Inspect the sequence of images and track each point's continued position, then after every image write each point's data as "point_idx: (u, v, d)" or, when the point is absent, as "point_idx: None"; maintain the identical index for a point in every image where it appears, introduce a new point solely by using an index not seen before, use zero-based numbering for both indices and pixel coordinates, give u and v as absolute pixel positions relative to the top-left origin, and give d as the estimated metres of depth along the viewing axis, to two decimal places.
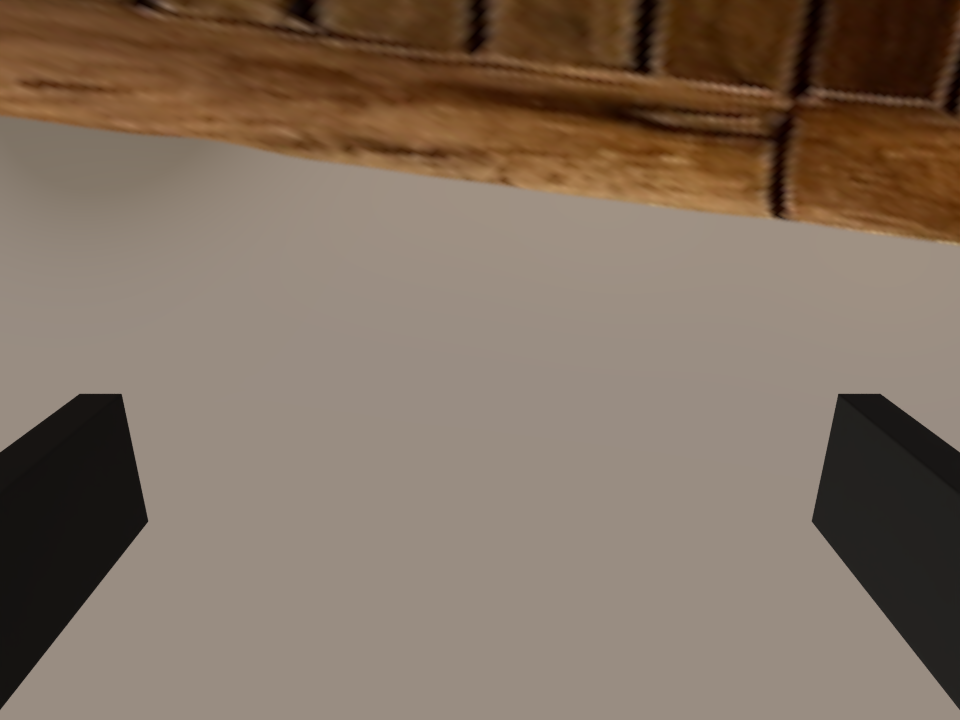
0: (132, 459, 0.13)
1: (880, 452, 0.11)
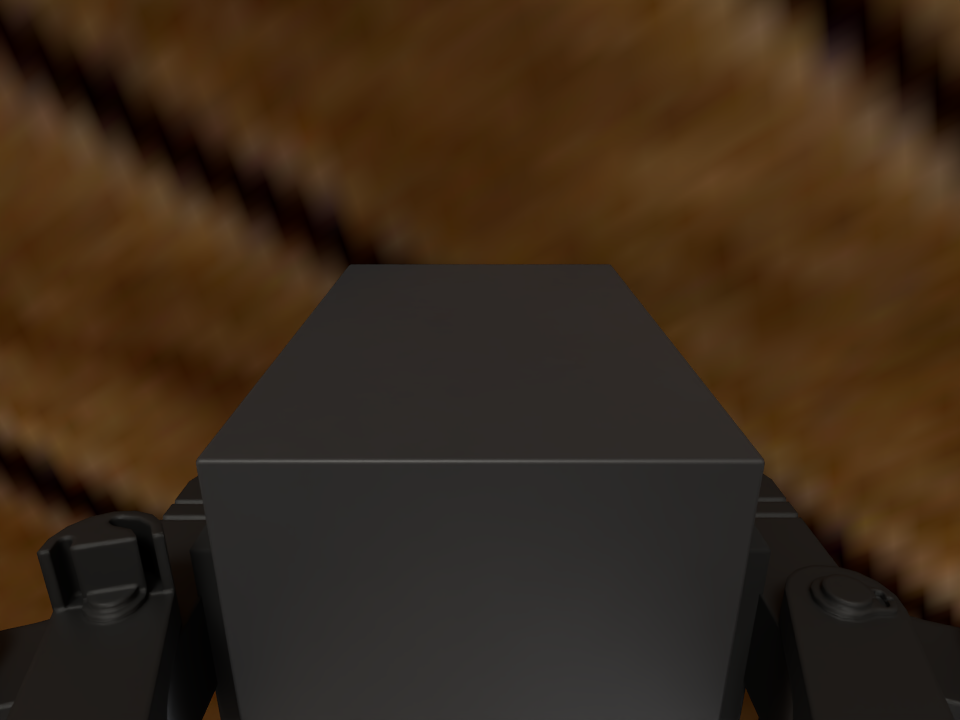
0: None
1: None
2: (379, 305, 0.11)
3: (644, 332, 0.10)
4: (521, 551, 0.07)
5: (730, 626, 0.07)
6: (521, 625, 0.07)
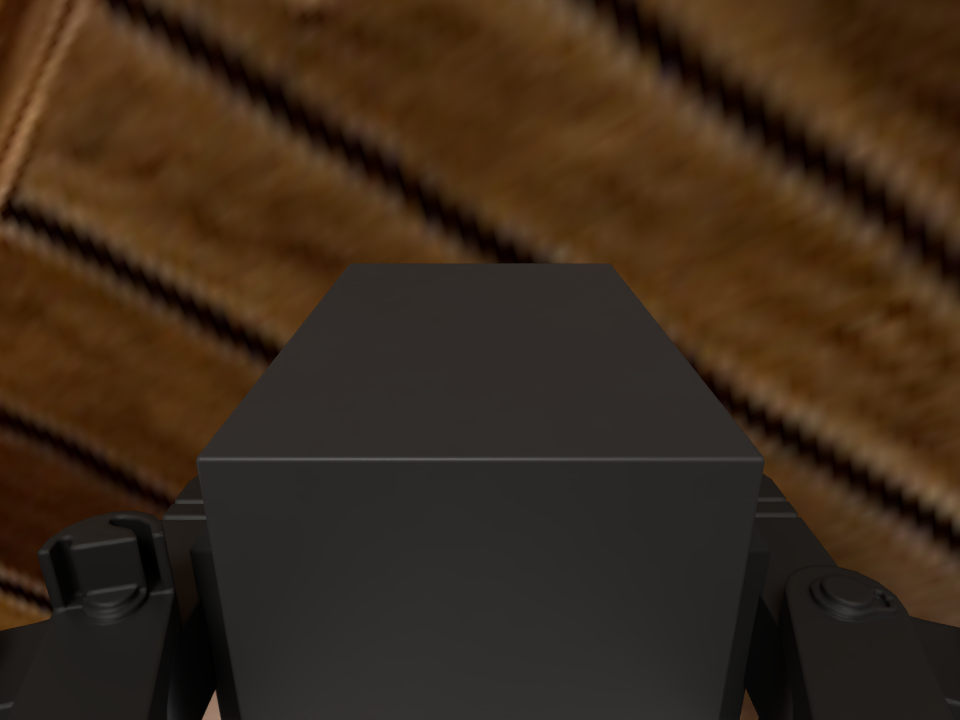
0: None
1: None
2: (379, 304, 0.11)
3: (644, 331, 0.10)
4: (521, 550, 0.07)
5: (730, 624, 0.07)
6: (522, 623, 0.07)
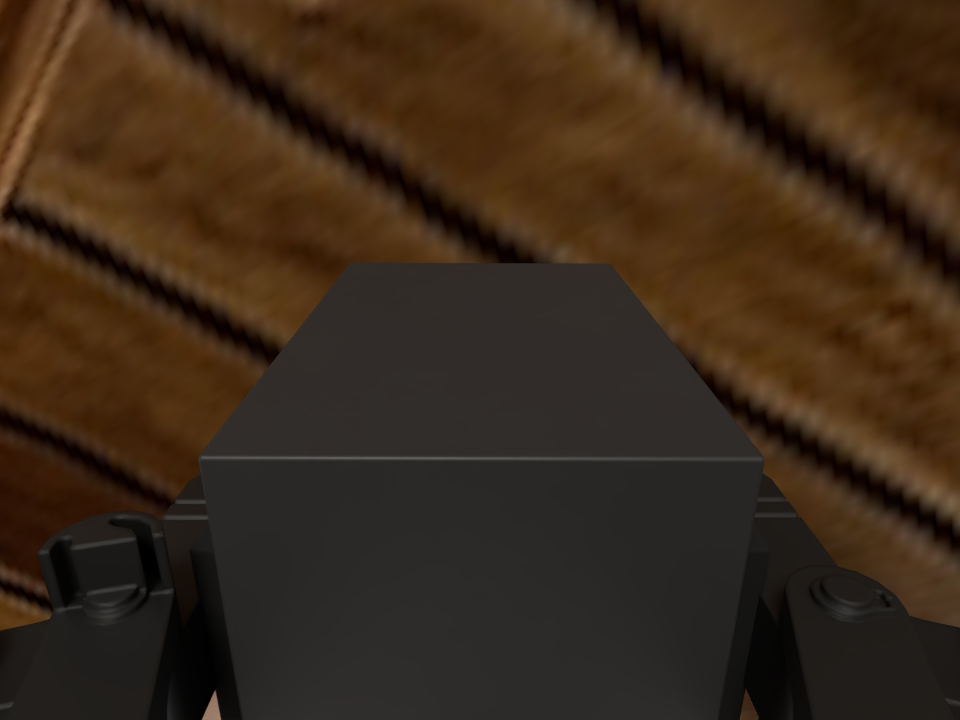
0: None
1: None
2: (380, 303, 0.11)
3: (644, 331, 0.10)
4: (522, 549, 0.07)
5: (729, 623, 0.07)
6: (522, 622, 0.07)
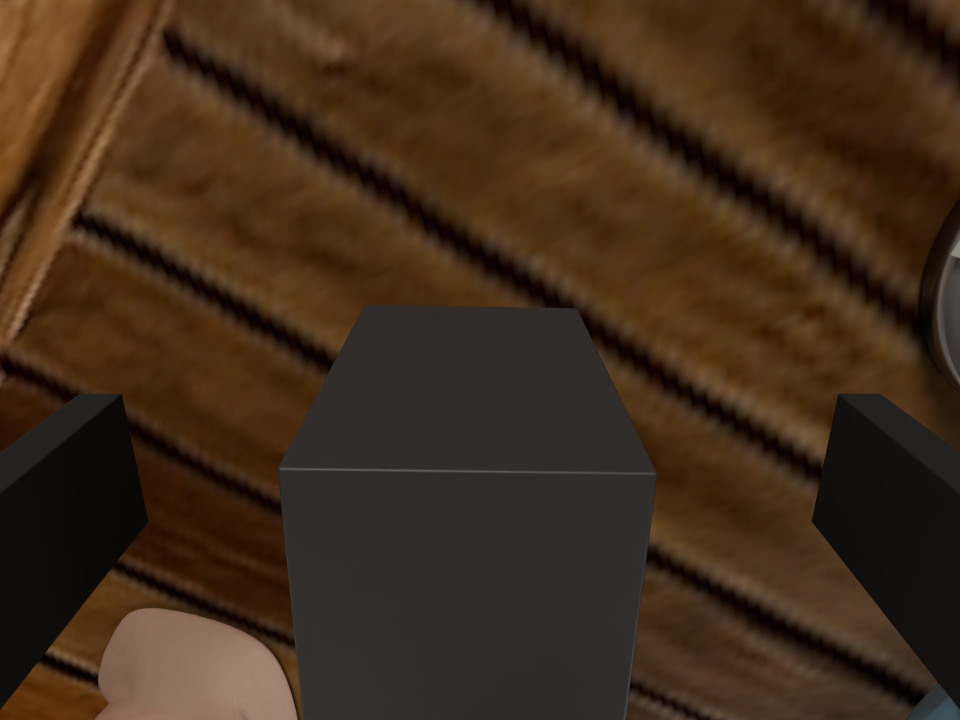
0: (132, 458, 0.13)
1: (879, 452, 0.11)
2: (392, 345, 0.14)
3: (593, 373, 0.13)
4: (495, 532, 0.10)
5: (638, 586, 0.10)
6: (495, 584, 0.10)
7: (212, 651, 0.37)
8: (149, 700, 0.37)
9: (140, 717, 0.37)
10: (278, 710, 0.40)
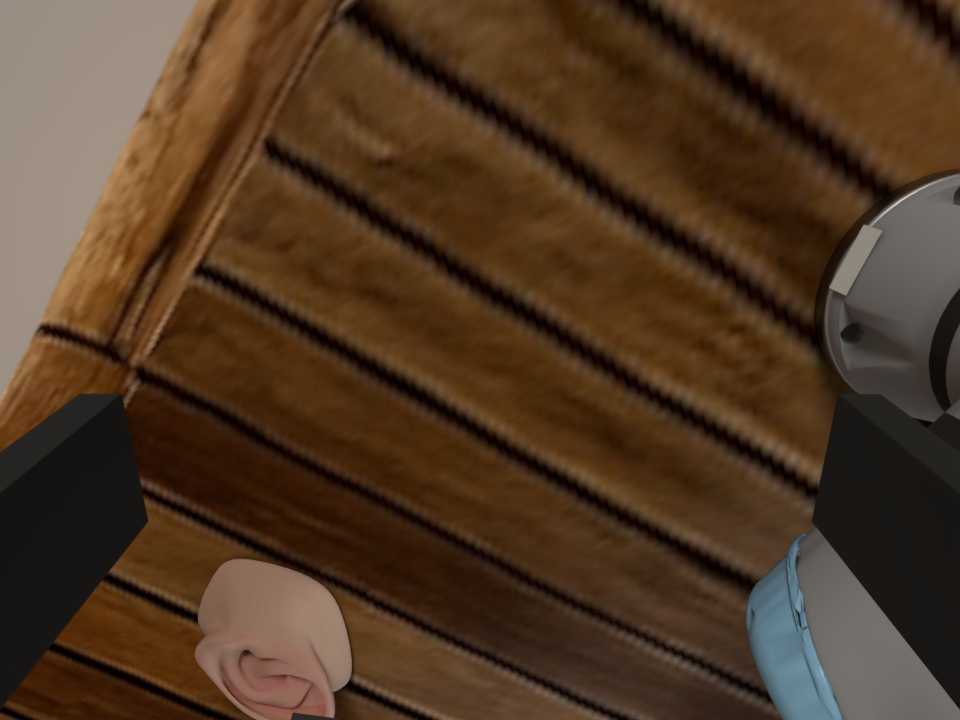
0: (132, 458, 0.13)
1: (879, 452, 0.11)
2: None
3: None
4: None
5: None
6: None
7: (287, 591, 0.49)
8: (240, 628, 0.48)
9: (234, 641, 0.48)
10: (336, 640, 0.51)
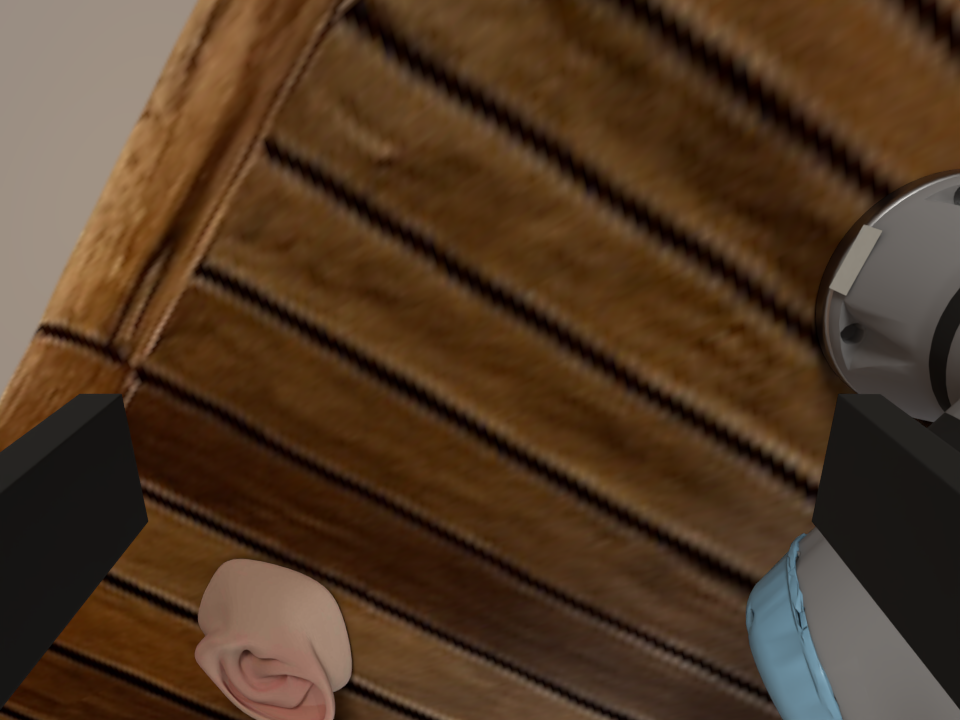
0: (132, 458, 0.13)
1: (879, 452, 0.11)
2: None
3: None
4: None
5: None
6: None
7: (287, 591, 0.49)
8: (240, 628, 0.48)
9: (234, 641, 0.48)
10: (336, 640, 0.51)
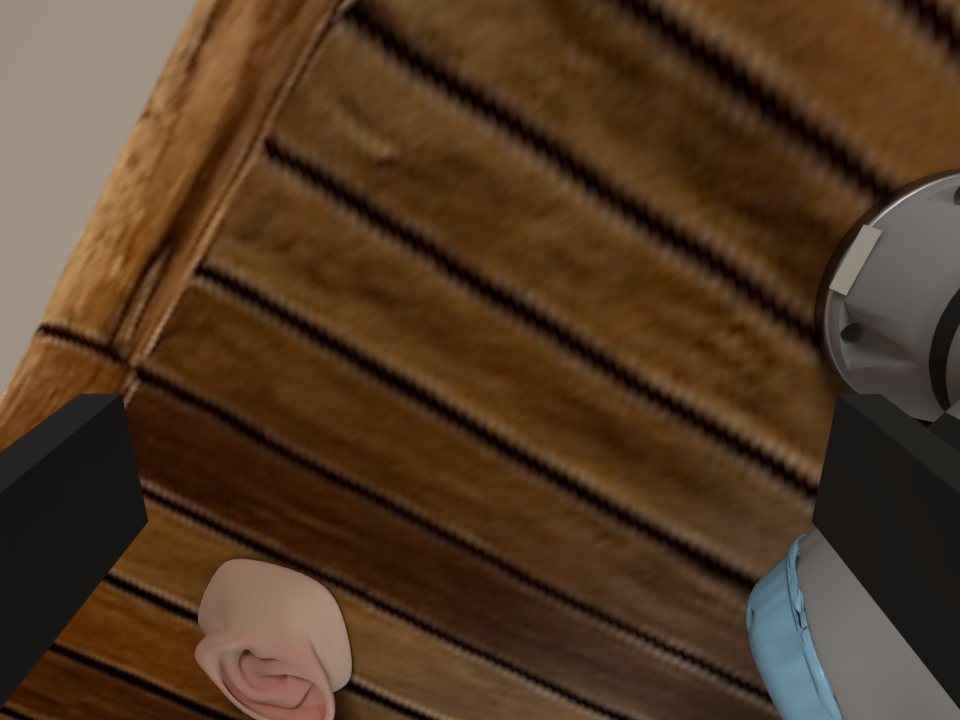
0: (132, 458, 0.13)
1: (879, 452, 0.11)
2: None
3: None
4: None
5: None
6: None
7: (287, 591, 0.49)
8: (240, 628, 0.48)
9: (234, 641, 0.48)
10: (336, 640, 0.51)
